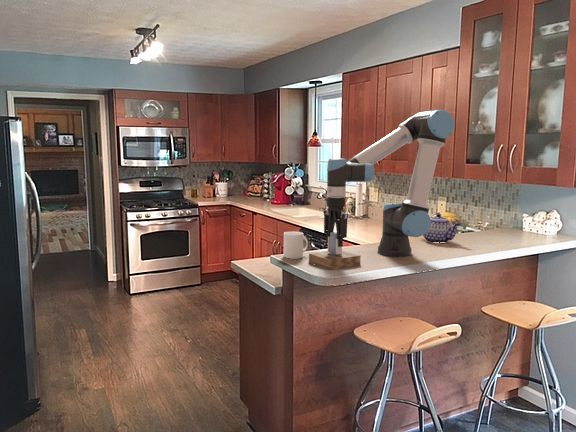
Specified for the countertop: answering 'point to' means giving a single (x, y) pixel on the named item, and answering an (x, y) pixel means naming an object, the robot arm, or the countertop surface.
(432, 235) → the teapot
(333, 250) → the dowel
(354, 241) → the countertop surface
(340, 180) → the robot arm
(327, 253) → the board
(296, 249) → the mug
